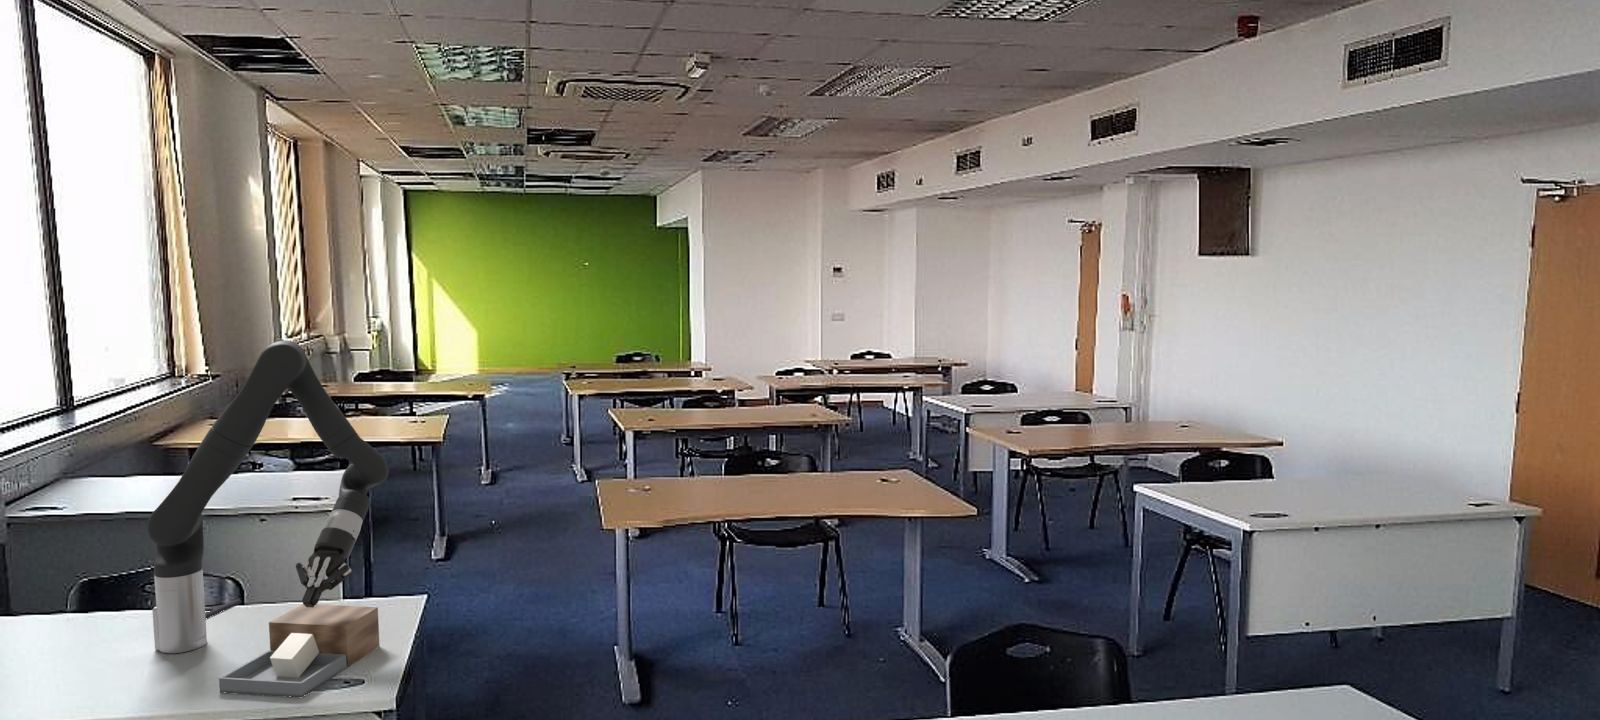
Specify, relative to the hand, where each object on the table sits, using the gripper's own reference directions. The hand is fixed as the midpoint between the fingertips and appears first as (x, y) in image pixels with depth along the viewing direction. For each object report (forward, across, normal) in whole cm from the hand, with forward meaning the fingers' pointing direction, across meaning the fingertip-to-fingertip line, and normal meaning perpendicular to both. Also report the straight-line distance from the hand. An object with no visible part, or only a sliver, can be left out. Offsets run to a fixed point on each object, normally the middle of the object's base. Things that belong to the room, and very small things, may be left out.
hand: (308, 605), depth 216 cm
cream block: (+7, 0, +4) cm, 8 cm away
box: (+15, 0, +3) cm, 15 cm away
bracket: (-10, -50, +29) cm, 59 cm away
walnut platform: (+5, 0, +13) cm, 14 cm away
